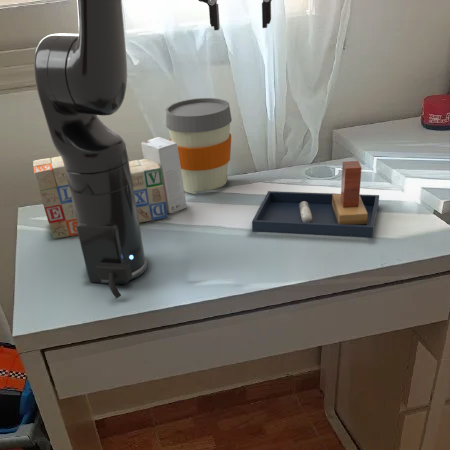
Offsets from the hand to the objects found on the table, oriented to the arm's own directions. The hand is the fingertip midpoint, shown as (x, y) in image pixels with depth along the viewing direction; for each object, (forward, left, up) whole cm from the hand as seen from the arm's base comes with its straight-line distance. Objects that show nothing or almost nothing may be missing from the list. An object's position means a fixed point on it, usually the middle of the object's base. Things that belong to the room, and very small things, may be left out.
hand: (240, 28), depth 107 cm
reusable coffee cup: (-4, +8, -27) cm, 29 cm away
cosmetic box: (-15, +12, -27) cm, 33 cm away
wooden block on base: (-18, -22, -26) cm, 39 cm away
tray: (-18, -17, -27) cm, 37 cm away
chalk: (-18, -15, -26) cm, 35 cm away
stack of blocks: (-23, +21, -27) cm, 41 cm away
